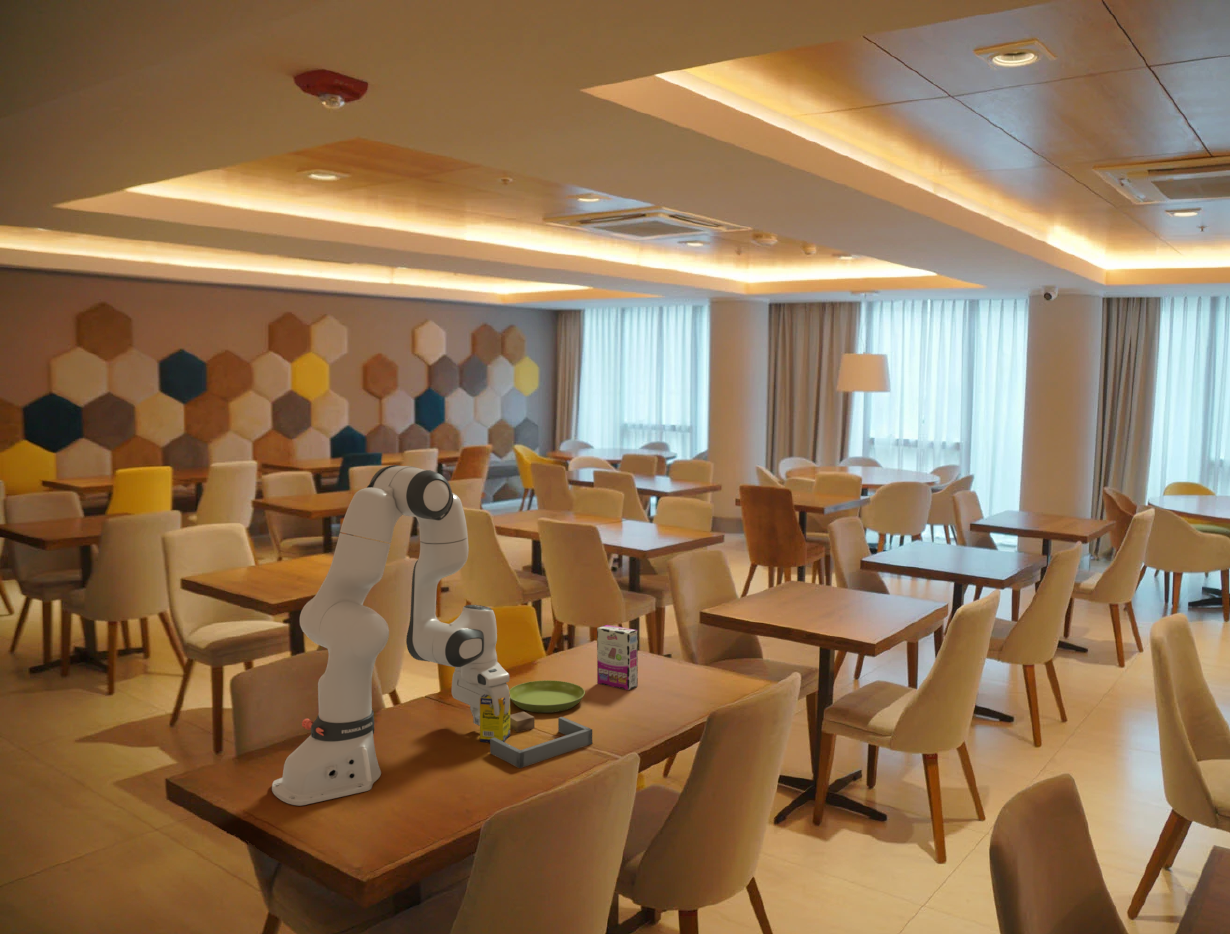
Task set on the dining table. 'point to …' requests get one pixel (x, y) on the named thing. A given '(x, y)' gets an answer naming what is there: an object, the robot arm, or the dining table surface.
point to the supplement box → (493, 720)
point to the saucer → (546, 696)
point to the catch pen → (544, 745)
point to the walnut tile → (521, 721)
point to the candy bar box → (617, 657)
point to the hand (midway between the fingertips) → (479, 724)
